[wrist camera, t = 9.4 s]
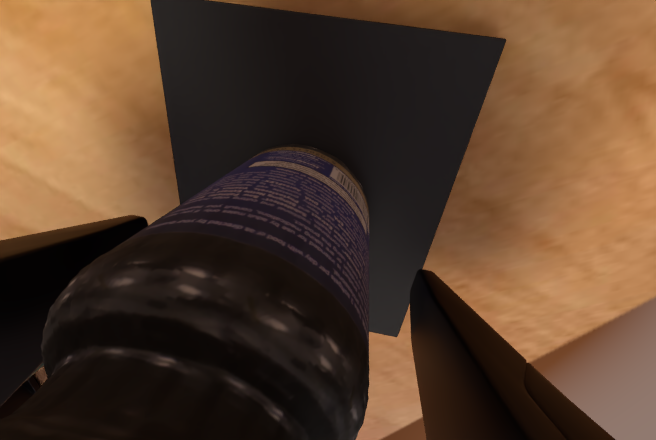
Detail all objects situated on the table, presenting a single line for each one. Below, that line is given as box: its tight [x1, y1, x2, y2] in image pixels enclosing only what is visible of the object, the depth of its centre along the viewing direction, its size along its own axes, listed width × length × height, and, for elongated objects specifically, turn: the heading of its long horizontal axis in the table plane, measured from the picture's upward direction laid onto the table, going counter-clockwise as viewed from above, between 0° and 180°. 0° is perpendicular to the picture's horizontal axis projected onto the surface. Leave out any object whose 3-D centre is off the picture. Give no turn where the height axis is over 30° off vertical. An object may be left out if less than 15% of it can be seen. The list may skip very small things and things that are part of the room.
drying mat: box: [151, 0, 506, 337], centre depth 12 cm, size 14×12×1 cm
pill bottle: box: [0, 144, 370, 440], centre depth 7 cm, size 6×6×11 cm
